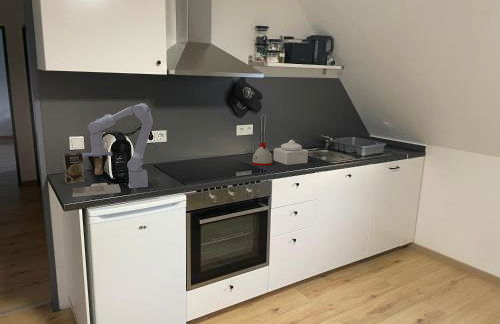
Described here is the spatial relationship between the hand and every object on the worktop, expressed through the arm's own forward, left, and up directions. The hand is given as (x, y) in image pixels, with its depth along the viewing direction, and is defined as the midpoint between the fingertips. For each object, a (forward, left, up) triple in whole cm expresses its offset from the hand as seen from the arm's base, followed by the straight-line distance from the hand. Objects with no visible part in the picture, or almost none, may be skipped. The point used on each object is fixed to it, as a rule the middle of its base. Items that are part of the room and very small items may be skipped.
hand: (98, 170), depth 203 cm
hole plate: (+2, +11, -9) cm, 15 cm away
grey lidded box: (-128, -21, -9) cm, 130 cm away
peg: (0, 0, -2) cm, 2 cm away
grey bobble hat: (-106, -21, -9) cm, 108 cm away
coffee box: (+12, -13, -9) cm, 20 cm away
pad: (0, 0, -9) cm, 9 cm away
